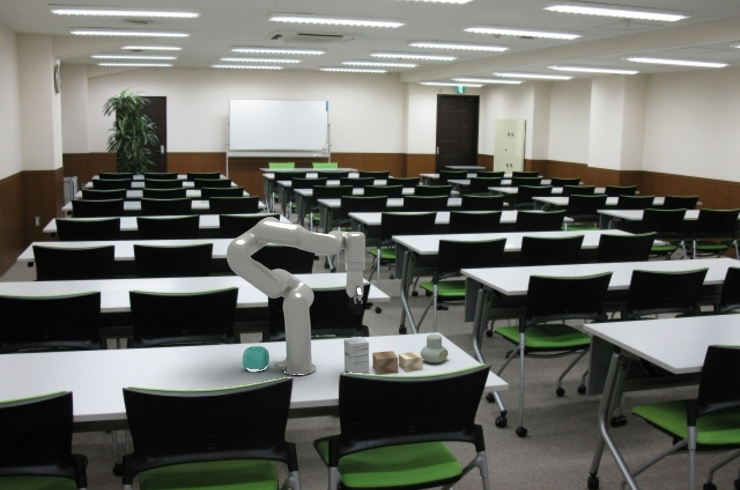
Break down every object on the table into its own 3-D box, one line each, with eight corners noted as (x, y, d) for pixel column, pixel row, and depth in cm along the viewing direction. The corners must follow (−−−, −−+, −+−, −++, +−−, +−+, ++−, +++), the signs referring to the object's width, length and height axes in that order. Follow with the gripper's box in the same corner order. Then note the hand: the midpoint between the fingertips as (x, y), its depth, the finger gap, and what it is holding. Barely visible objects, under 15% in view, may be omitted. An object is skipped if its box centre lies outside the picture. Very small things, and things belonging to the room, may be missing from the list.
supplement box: (344, 370, 277) (343, 338, 275) (361, 367, 280) (361, 336, 278) (351, 376, 271) (351, 344, 268) (369, 373, 274) (369, 341, 271)
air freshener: (435, 366, 280) (435, 341, 278) (417, 362, 285) (417, 338, 283) (450, 359, 288) (450, 334, 287) (432, 355, 293) (432, 331, 291)
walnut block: (377, 374, 273) (376, 359, 272) (372, 367, 281) (372, 352, 280) (397, 372, 275) (397, 357, 273) (392, 365, 282) (392, 350, 281)
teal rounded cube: (262, 373, 276) (261, 353, 275) (242, 372, 278) (241, 352, 276) (269, 366, 284) (268, 346, 282) (250, 364, 285) (249, 345, 284)
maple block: (405, 372, 275) (405, 359, 274) (398, 366, 282) (398, 353, 281) (422, 369, 277) (422, 357, 277) (415, 363, 284) (415, 351, 283)
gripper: (341, 261, 276) (341, 305, 279) (349, 271, 259) (350, 317, 262) (360, 260, 277) (361, 303, 280) (370, 269, 260) (370, 316, 264)
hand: (355, 310), depth 271 cm, fingers open, 9 cm apart
